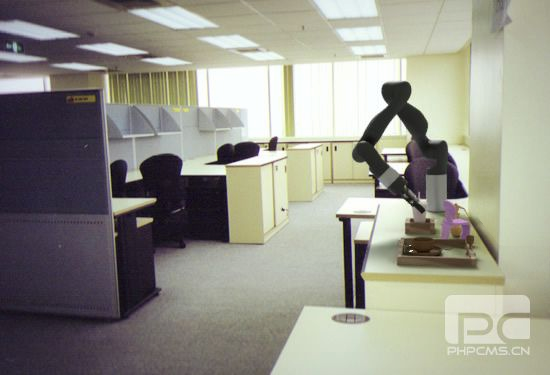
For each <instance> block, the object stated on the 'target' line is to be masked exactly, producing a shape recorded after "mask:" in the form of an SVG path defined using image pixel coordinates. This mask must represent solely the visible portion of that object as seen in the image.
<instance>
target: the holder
mask: <svg viewBox="0 0 550 375" xmlns="http://www.w3.org/2000/svg"><path fill="white" fill-rule="evenodd" d="M404 234H409V235H410V234H416V235H418V234H420V235H422V234H423V235H424V234H425V235H436V221H435V217H426V220H425V223H419V222H414V218H413V217H406V218H405V222H404Z"/></svg>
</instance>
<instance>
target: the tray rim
mask: <svg viewBox="0 0 550 375" xmlns="http://www.w3.org/2000/svg"><path fill="white" fill-rule="evenodd" d="M413 238H414V237H400V240H399V246H398V249H397V256H396V265H399V266H400V265H402V266H404V265H405V266H430V267H458V268H459V267H461V268H476V267H477V259H476V256H475V255H476V254H475V255H474V253H475V252H474V249H473V247H469V245H468V244H467V243H466V239H460V238H449V239H441V238H440V237H439V238H437V237H436V238H435V237H433V239H434V245H436V246H440V247H442V248H445V247H446V248H447V247H448V248H449V247H450V248H465V250H466V253H467V252H468V255H467V257H464V256H463V257H462V256H460V257H459V256H457V257H456V256H434V257H430V256H410V255H404V252H405V250H404V249H405V246H404V245H408V246H409V245H412V239H413Z"/></svg>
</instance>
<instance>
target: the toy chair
mask: <svg viewBox="0 0 550 375" xmlns="http://www.w3.org/2000/svg"><path fill="white" fill-rule="evenodd" d="M454 204H455V203H453V202H452V201H450V200H448V199H447V200H445V201H444V203H443V206H444V209H445V211H444V214H446V215H445V219H442V220H443V221H442V224H441V235H440V237H439V238H441V239H450V238H449V237H450V233H451V228H452V227H453V226H457V225H459V226H460V227H461V228H462V233H461V234H460V237H459V239H466V236H467V235H471V234H470V232H471V225H470V221H467V220H464V219H462V218H460V219H458V218H454V219H453V216H455V217H456V216H457V215H456V206H455V205H454Z"/></svg>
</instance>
